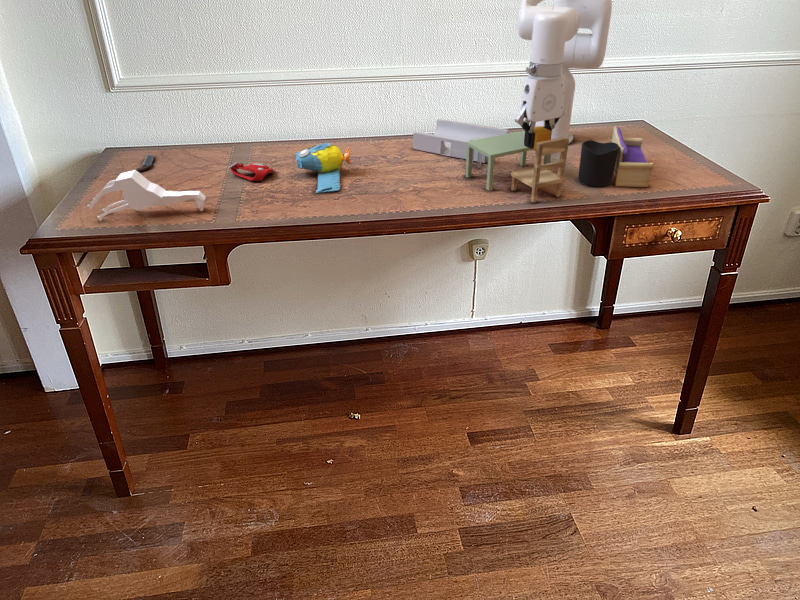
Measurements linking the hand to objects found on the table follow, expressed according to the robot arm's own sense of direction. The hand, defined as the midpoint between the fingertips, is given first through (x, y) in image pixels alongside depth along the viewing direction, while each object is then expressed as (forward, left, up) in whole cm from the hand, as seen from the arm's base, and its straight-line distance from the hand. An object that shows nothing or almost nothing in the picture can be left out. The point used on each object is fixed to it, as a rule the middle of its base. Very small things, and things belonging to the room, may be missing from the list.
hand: (536, 144), depth 152 cm
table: (-12, 0, -13) cm, 17 cm away
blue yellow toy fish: (-39, -43, -13) cm, 60 cm away
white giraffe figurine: (-35, -91, -13) cm, 98 cm away
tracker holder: (-48, -62, -13) cm, 79 cm away
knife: (-73, -88, -13) cm, 115 cm away
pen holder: (+2, +19, -13) cm, 23 cm away
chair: (+1, 0, -13) cm, 13 cm away
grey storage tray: (-37, -1, -13) cm, 39 cm away
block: (0, 0, -1) cm, 1 cm away
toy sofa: (+2, +31, -13) cm, 34 cm away
